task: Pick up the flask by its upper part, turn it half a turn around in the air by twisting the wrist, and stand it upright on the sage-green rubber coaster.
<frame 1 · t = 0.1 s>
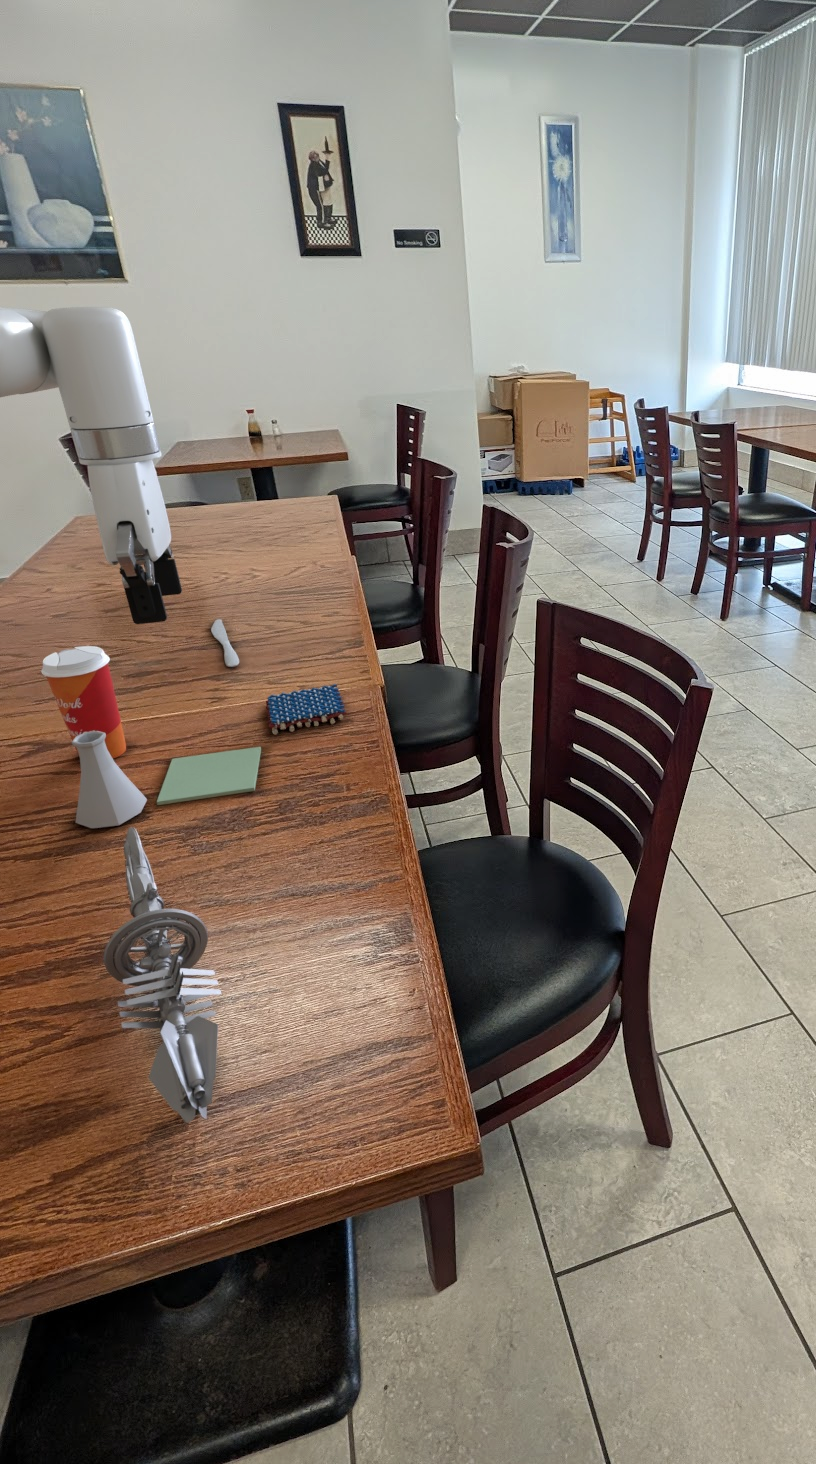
hand: (159, 607, 89), 23 cm above the table, tool pointing down, fingers open, 9 cm apart
flask: (113, 814, 96), on the table
spaceship: (169, 983, 71), on the table
woven mat: (306, 715, 118), on the table
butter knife: (223, 643, 146), on the table
paper cup: (104, 754, 109), on the table
coaster: (212, 776, 103), on the table
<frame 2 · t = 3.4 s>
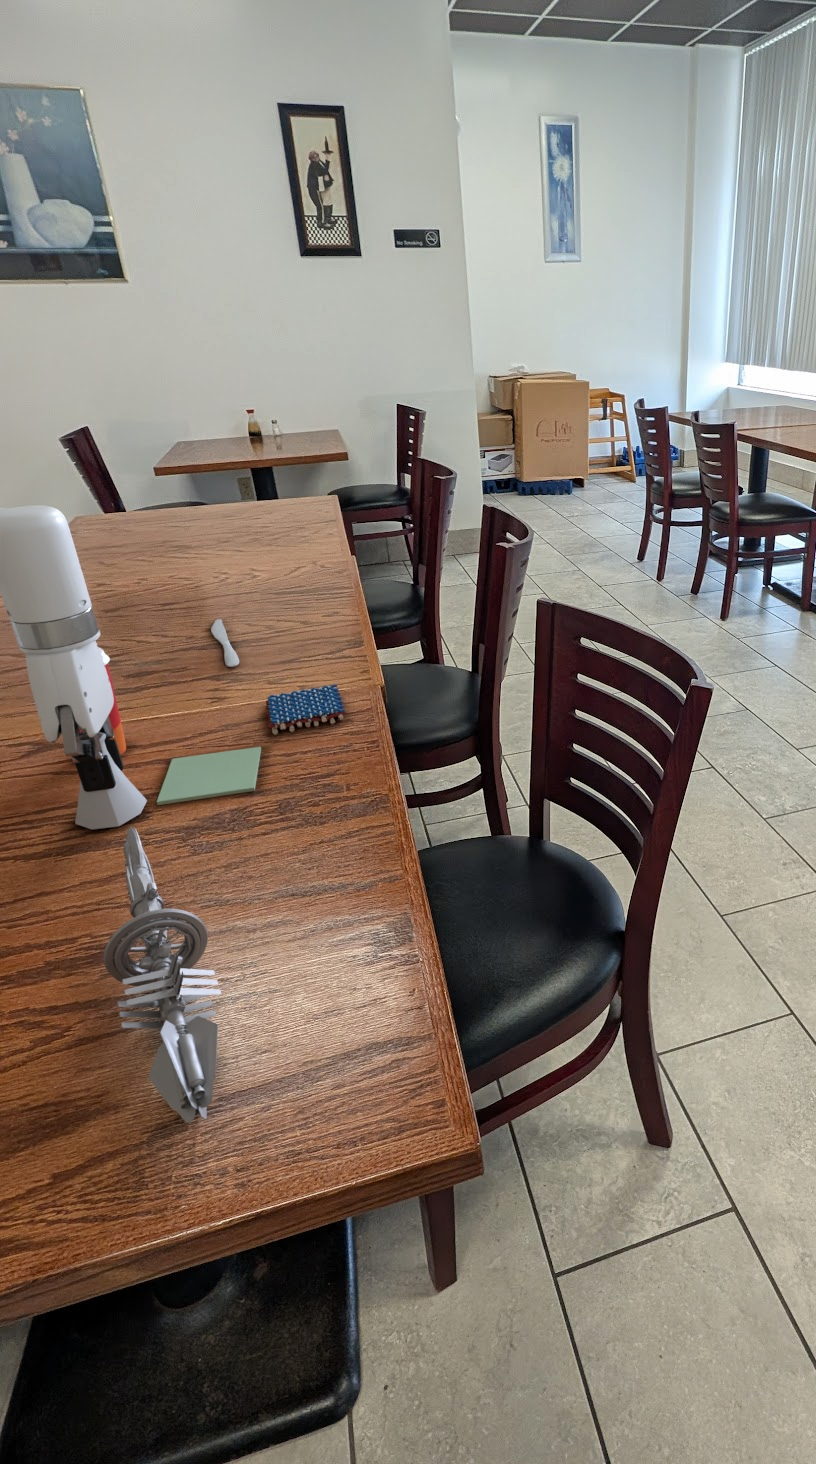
hand: (104, 779, 93), 5 cm above the table, tool pointing down, fingers closed on flask, 3 cm apart
flask: (113, 815, 95), on the table, touching gripper
everything else where it was.
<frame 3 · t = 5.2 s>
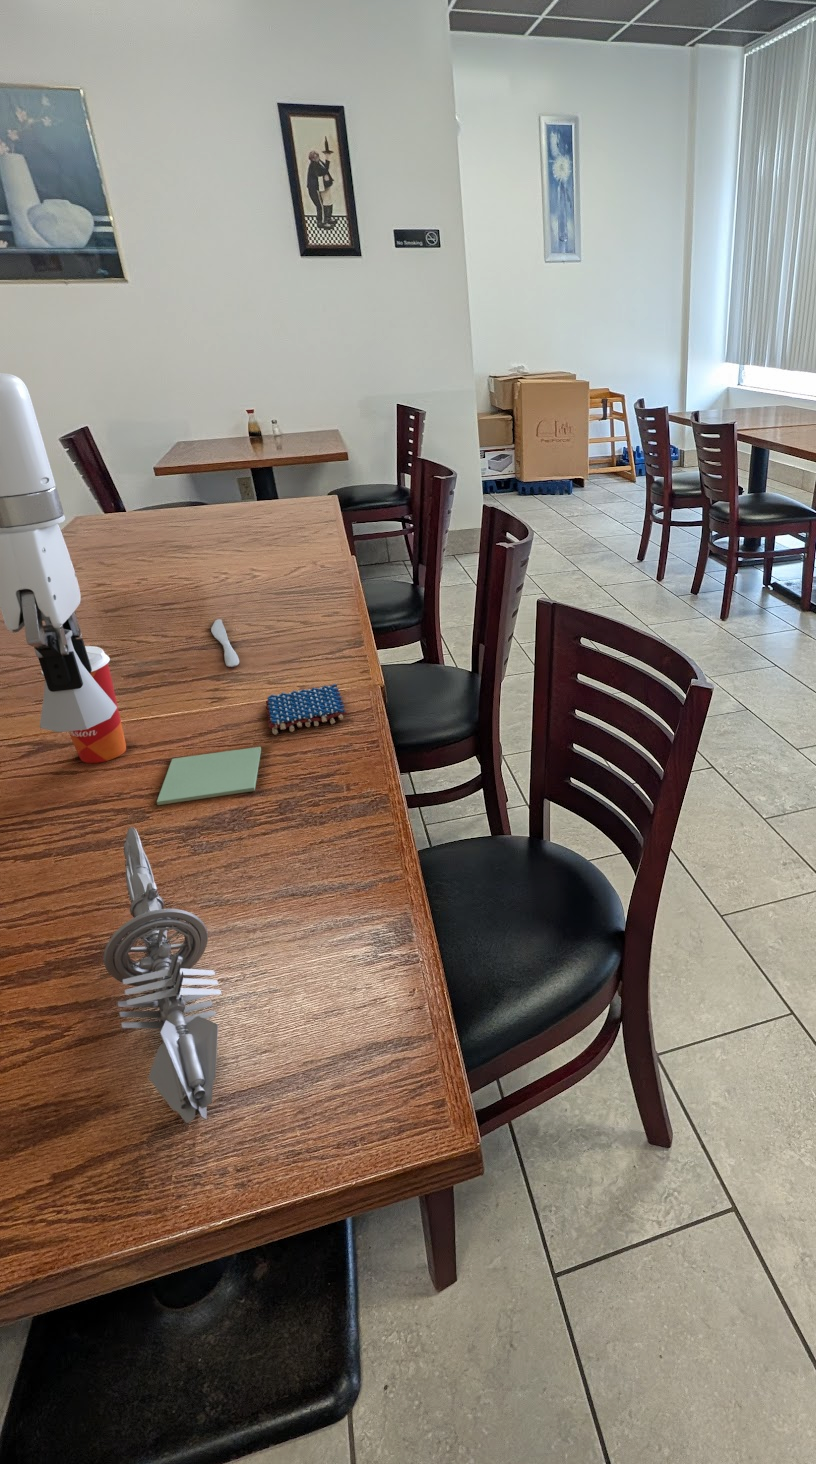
hand: (71, 680, 88), 17 cm above the table, tool pointing down, fingers closed on flask, 3 cm apart
flask: (80, 721, 90), point 12 cm above the table, touching gripper
everything else where it was.
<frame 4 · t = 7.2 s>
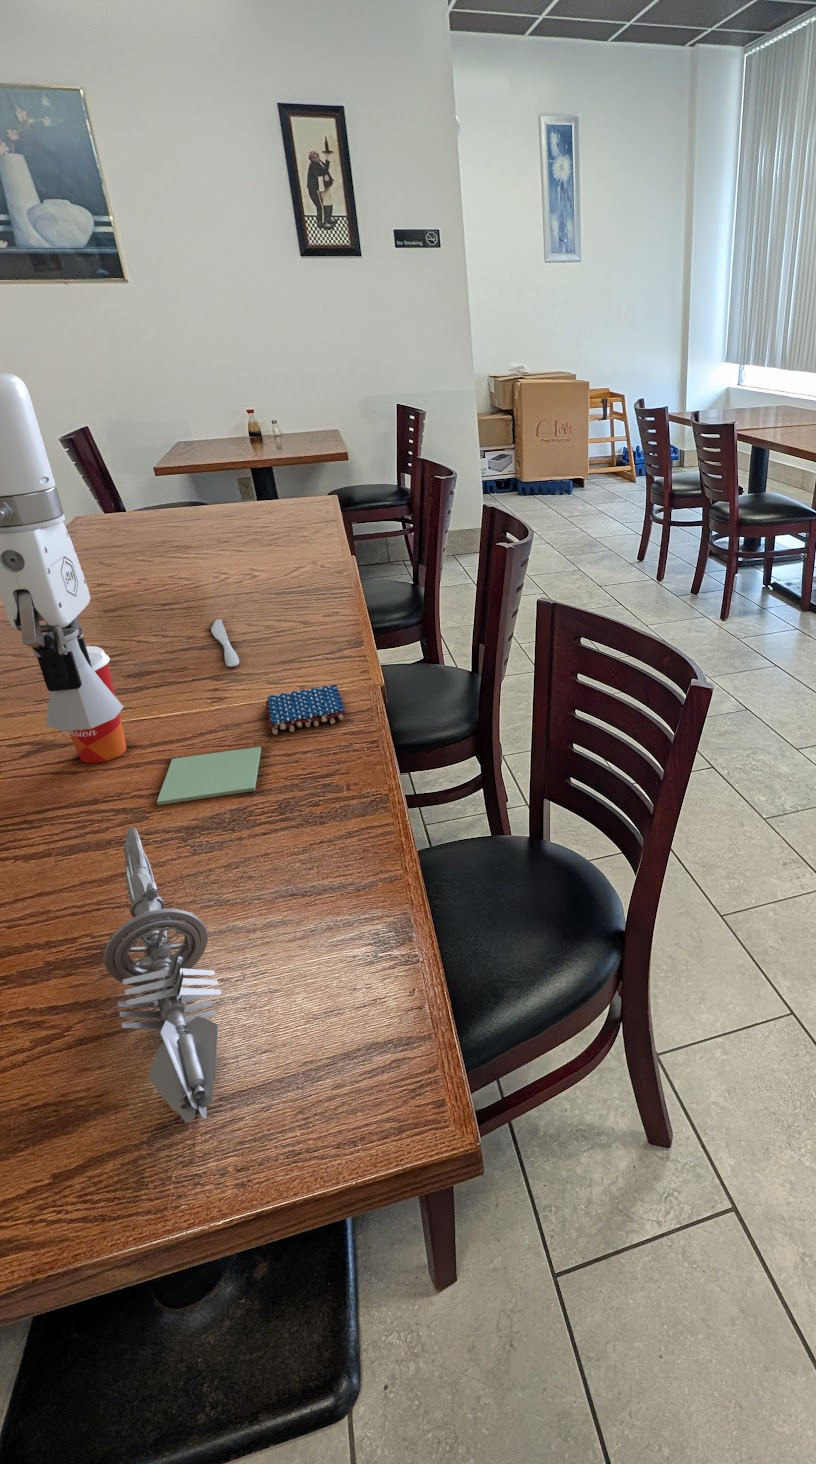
hand: (71, 680, 88), 17 cm above the table, tool pointing down, fingers closed on flask, 3 cm apart
flask: (86, 720, 90), point 12 cm above the table, touching gripper
everything else where it was.
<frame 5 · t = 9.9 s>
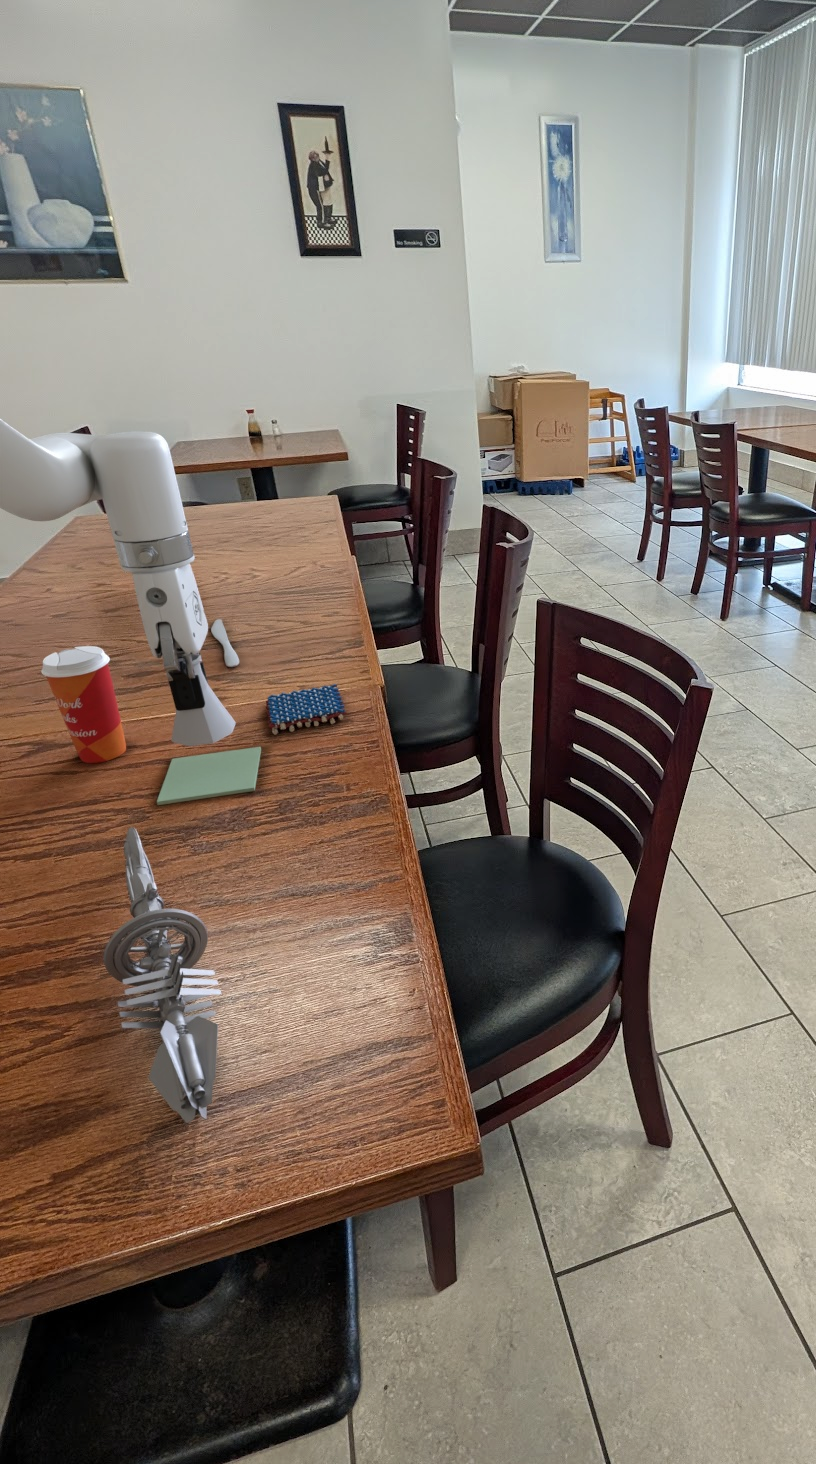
hand: (193, 700, 98), 11 cm above the table, tool pointing down, fingers closed on flask, 3 cm apart
flask: (205, 735, 100), point 6 cm above the table, touching gripper
everything else where it was.
when the fingers open (5 cm above the table, at t = 11.4 s): flask stays where it is, resting on coaster.
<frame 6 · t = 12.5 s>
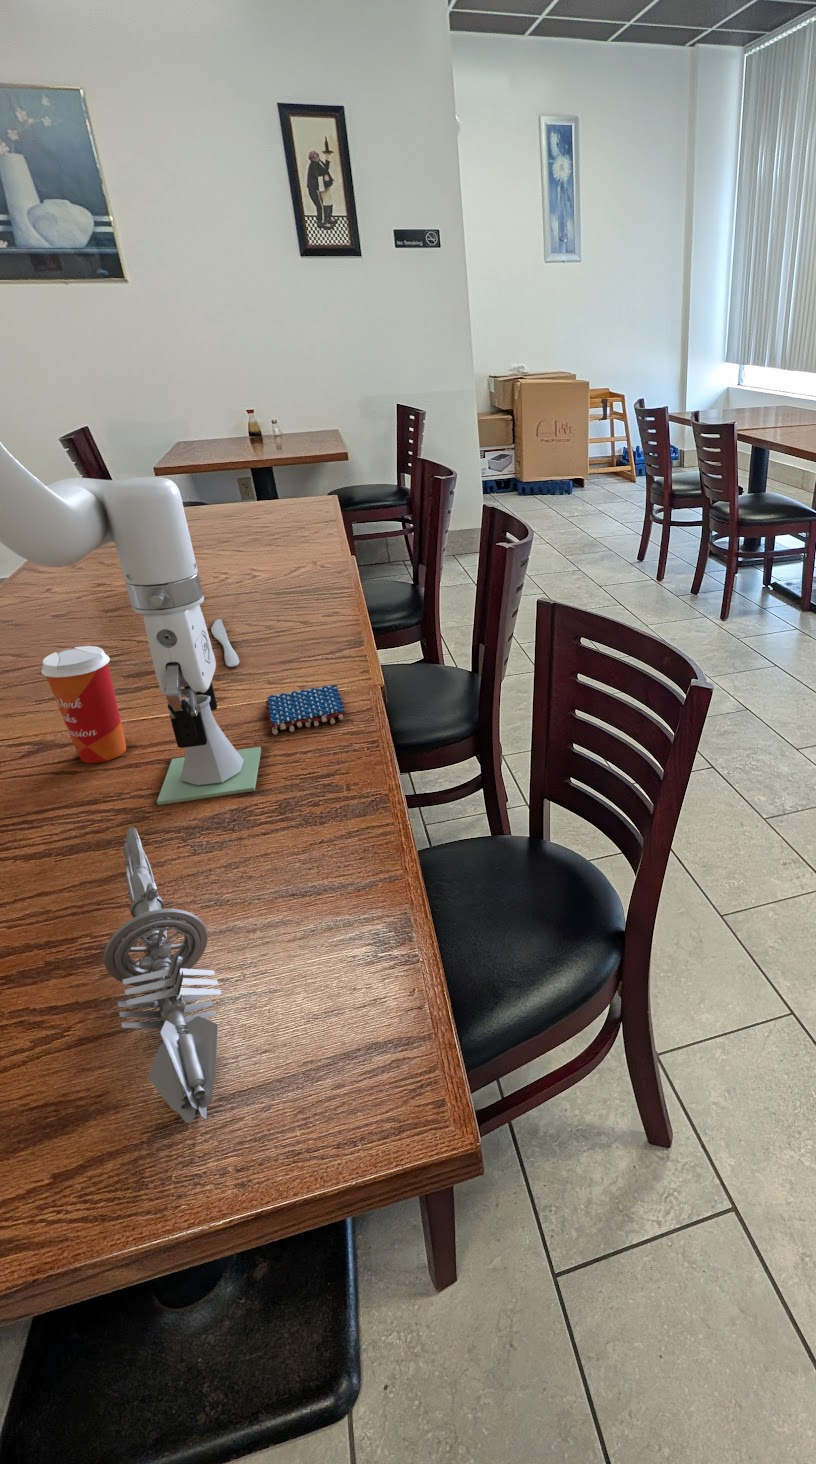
hand: (199, 727, 100), 7 cm above the table, tool pointing down, fingers open, 9 cm apart
flask: (213, 773, 103), resting on coaster
everything else where it was.
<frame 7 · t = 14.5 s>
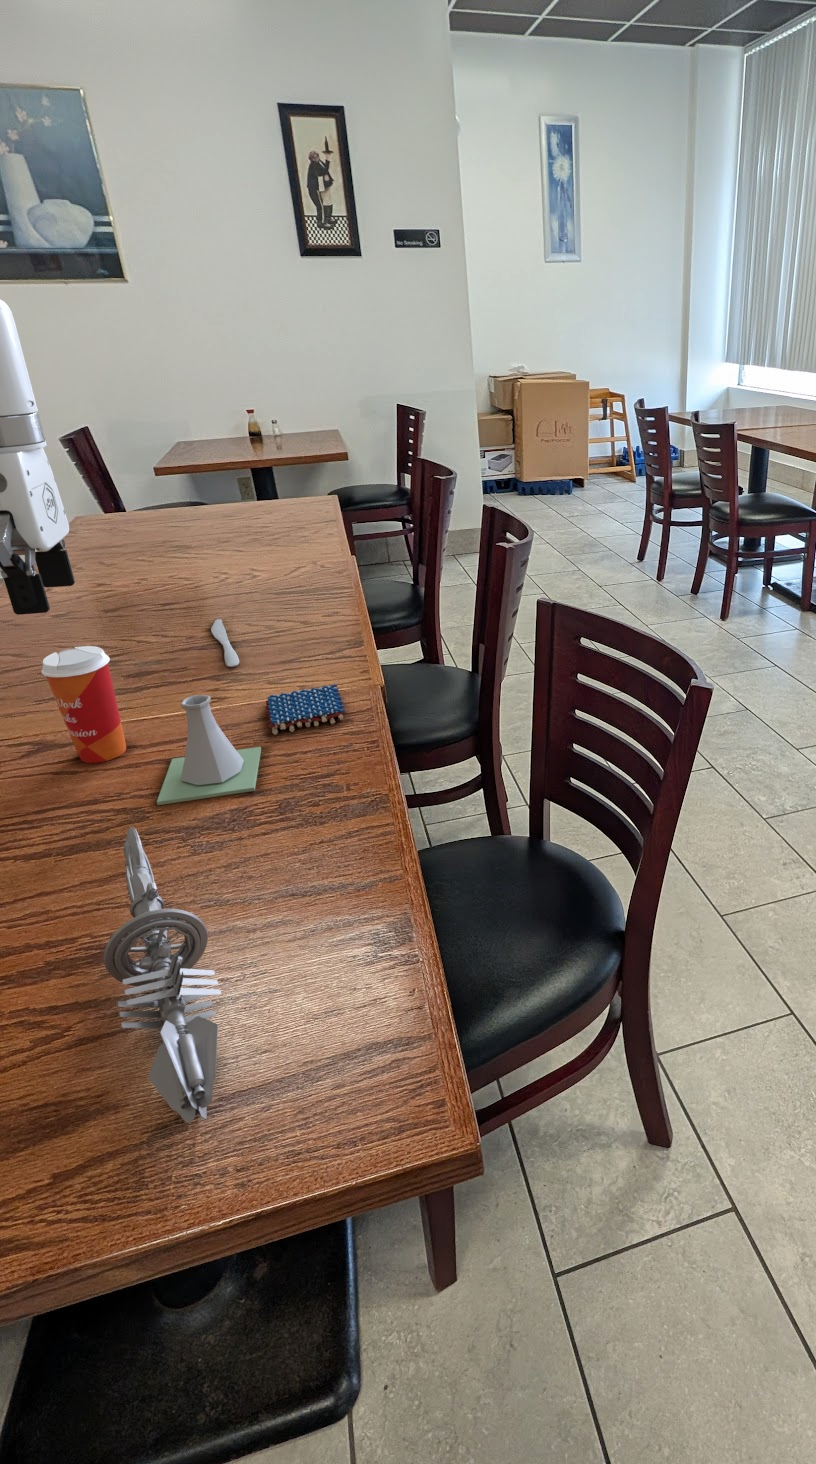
hand: (46, 598, 89), 25 cm above the table, tool pointing down, fingers open, 9 cm apart
nothing on the table moved.
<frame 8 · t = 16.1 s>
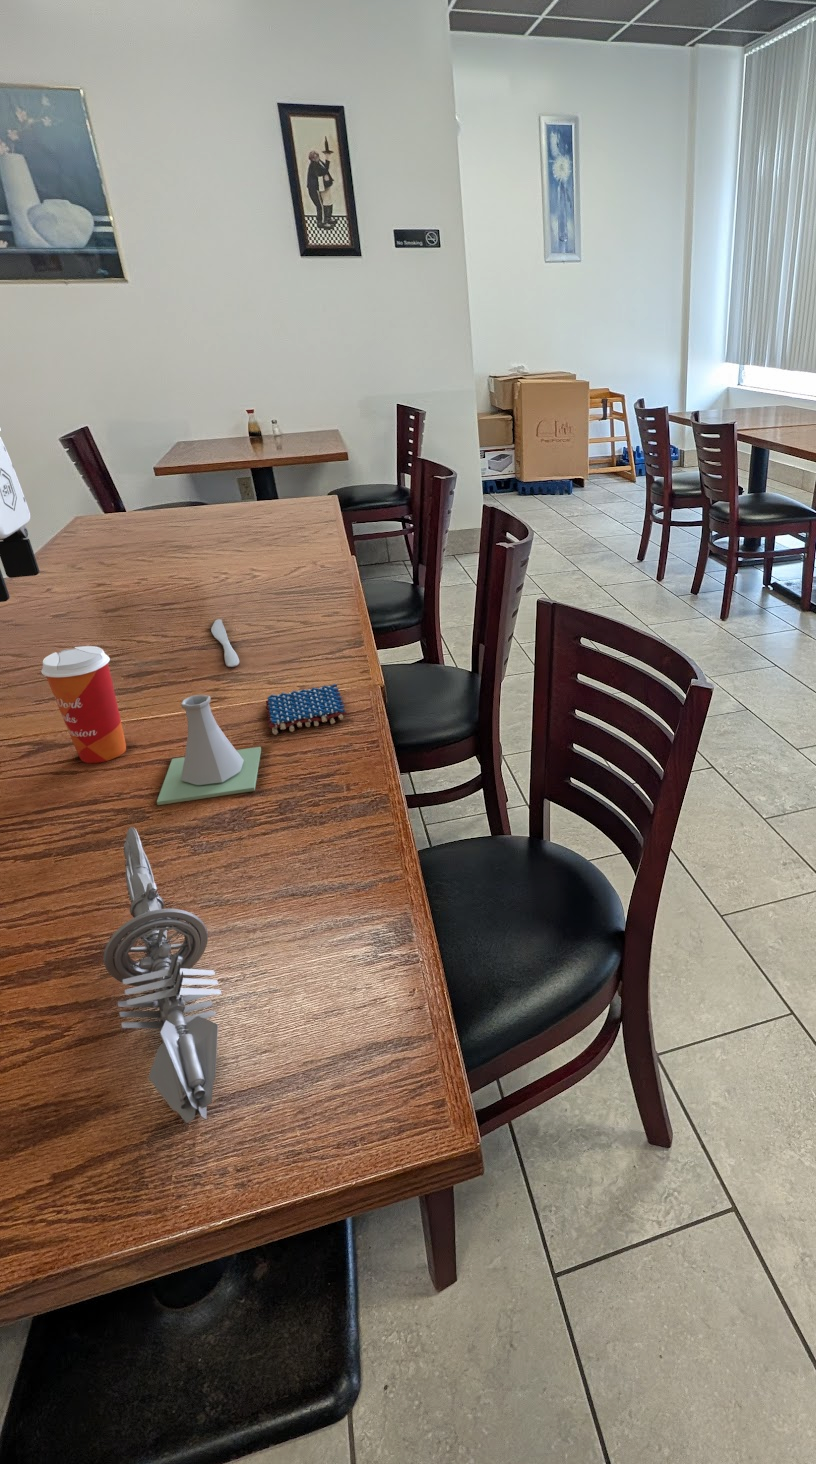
hand: (8, 588, 87), 26 cm above the table, tool pointing down, fingers open, 9 cm apart
nothing on the table moved.
at the end: flask inside the target area on the coaster (0.2 cm from its centre), point 0.3 cm above the coaster's base; flask tilted 0°; the gripper is holding nothing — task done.
